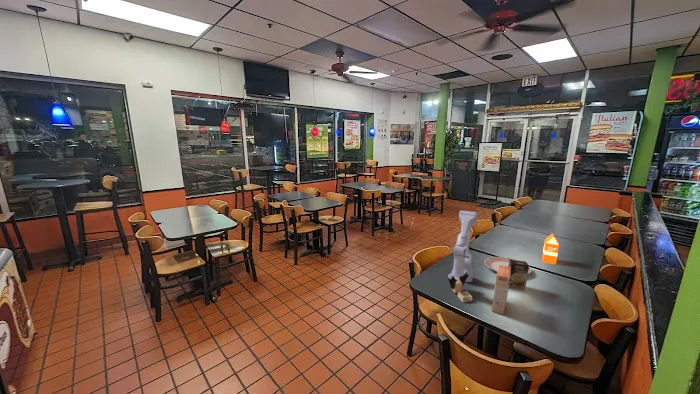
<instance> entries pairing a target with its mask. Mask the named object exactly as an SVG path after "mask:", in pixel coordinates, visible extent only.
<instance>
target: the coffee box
mask: <svg viewBox="0 0 700 394" xmlns="http://www.w3.org/2000/svg"><path fill="white" fill-rule="evenodd" d="M511 259H512V258H511ZM511 259H509V264H508V267H511V273H510V281H509V288H508V289H512V290H519V291H526V286H527V281H528V275H529V274H528V269H529V267H530V264H529V263H528V262H527V261H524V260H517V259H515V260H511Z"/></svg>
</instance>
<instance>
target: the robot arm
mask: <svg viewBox="0 0 700 394" xmlns="http://www.w3.org/2000/svg"><path fill="white" fill-rule="evenodd" d="M458 219H459V223H460V224H461V227H460V233H459V234H457V238H456V243H455V245H454V247H453V258H454V259H453V265H452V266H453V267H452V270H451V272H450V273H449V274H448V275H447V277H446V278H447V280H448V282H449V286H450V289H451V290H452V289H453V290H454V289H455V284H456V282H457V280H460V281H461V282H462V287H464V285H465V283H470V282H471V283H472V282H473V274H474V268H473V267H472V263H473V255H472V254H471V252H470V251H469V250H470V249H469V248H470V247H469V246H470V241H471V233H472V228H473V227H474V226H476V224H477V219H478V212H477V211H469V210H462V209H461V210H459V213H458ZM453 290H452V291H453Z"/></svg>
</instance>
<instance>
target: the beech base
mask: <svg viewBox="0 0 700 394" xmlns="http://www.w3.org/2000/svg"><path fill="white" fill-rule="evenodd" d="M457 298H458V299H459V300H460V301H461V302H462V303H465V302H467V303H470V302H473V296H472V295H471V293H469V291H467V290H465V291H462V292H458V293H457Z"/></svg>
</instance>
